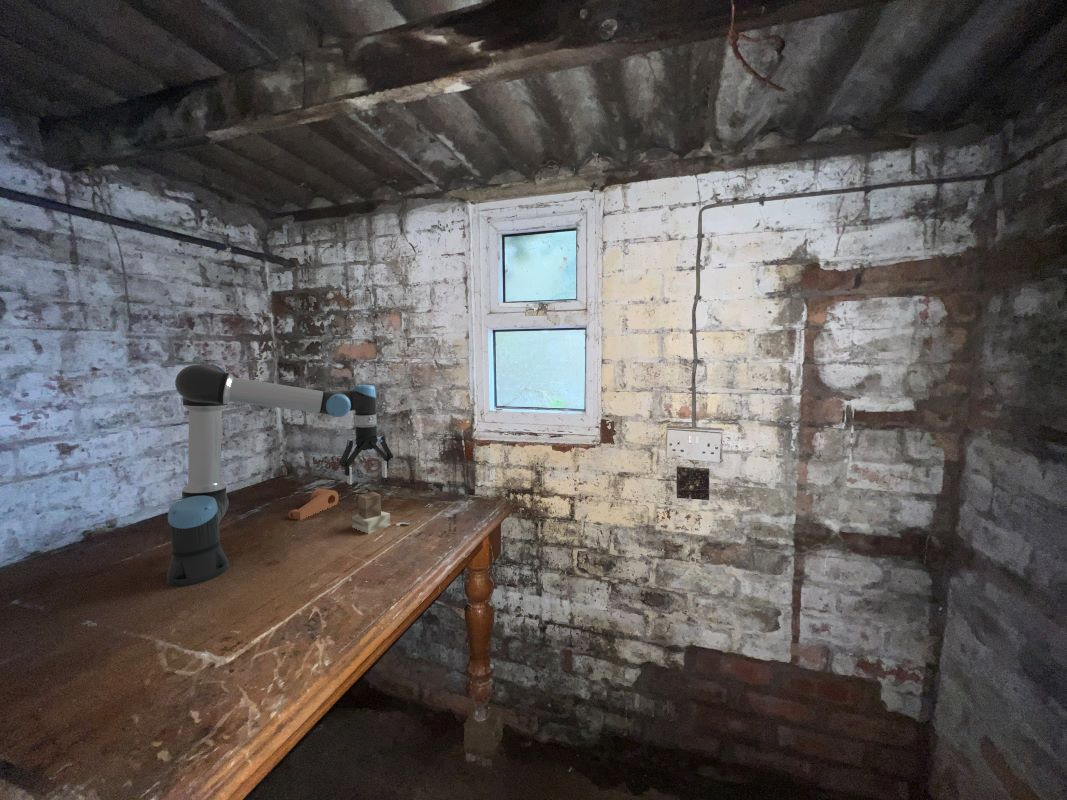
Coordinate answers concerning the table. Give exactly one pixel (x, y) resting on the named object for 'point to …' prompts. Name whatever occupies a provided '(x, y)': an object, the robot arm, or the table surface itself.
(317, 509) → the crank
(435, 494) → the table surface
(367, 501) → the walnut block
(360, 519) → the pale square block
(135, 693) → the table surface
